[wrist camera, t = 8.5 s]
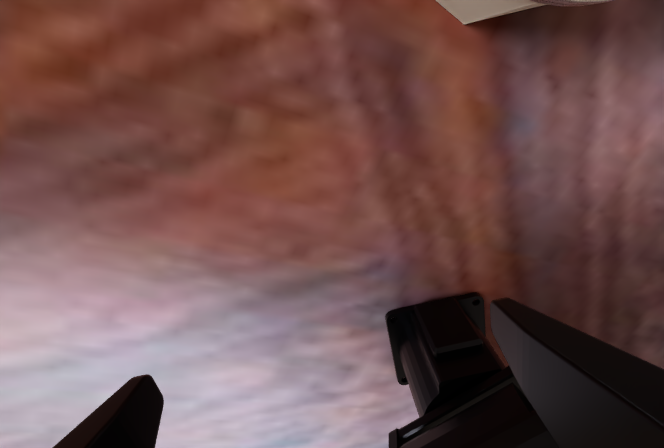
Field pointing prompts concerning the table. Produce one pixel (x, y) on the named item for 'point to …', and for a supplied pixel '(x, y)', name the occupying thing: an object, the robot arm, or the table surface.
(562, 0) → the cooker lid
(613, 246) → the table surface
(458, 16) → the cooker pot
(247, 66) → the table surface
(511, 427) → the robot arm
